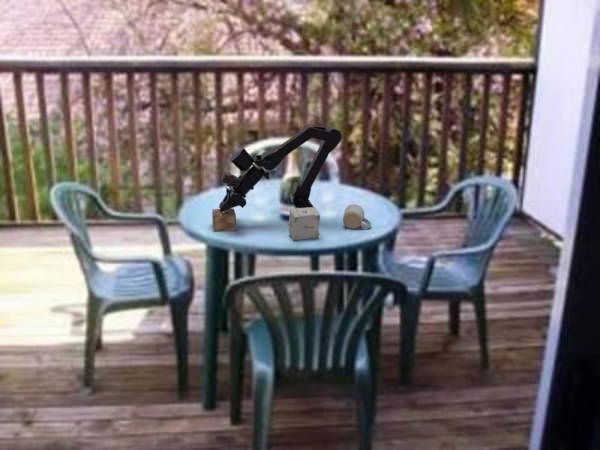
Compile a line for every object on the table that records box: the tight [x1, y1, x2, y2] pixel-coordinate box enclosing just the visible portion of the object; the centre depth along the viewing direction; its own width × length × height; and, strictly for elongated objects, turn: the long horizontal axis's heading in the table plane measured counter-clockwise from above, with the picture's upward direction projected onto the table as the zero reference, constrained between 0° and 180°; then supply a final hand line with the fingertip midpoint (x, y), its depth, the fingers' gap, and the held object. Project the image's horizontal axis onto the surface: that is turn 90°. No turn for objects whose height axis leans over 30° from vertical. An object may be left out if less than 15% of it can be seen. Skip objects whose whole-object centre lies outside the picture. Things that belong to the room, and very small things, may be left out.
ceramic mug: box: [342, 204, 372, 230], centre depth 281 cm, size 11×8×8 cm
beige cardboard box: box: [288, 206, 321, 242], centre depth 268 cm, size 10×8×10 cm
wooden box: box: [211, 208, 237, 232], centre depth 277 cm, size 8×8×6 cm
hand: (220, 209), depth 276 cm, fingers closed on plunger, 3 cm apart
